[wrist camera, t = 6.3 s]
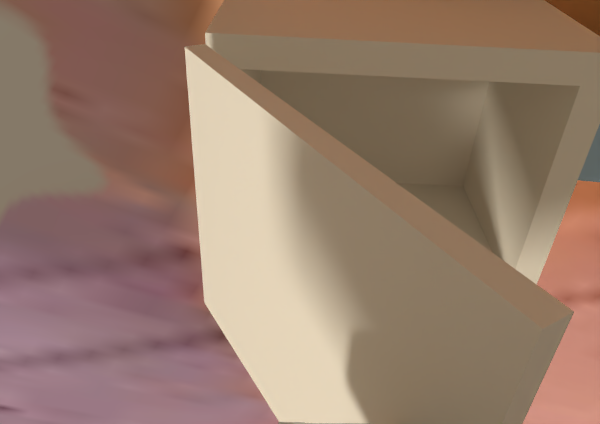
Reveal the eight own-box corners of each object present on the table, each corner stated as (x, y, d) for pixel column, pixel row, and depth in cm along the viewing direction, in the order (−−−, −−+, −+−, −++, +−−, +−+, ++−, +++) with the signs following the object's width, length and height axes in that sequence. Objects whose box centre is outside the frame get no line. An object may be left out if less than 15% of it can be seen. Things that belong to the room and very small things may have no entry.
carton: (531, -9, 22) (627, 54, 15) (475, 197, 27) (527, 308, 21) (237, -24, 22) (205, 32, 15) (242, 186, 27) (219, 294, 21)
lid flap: (575, 312, 7) (542, 329, 6) (432, 617, 12) (412, 633, 12) (205, 44, 15) (184, 46, 15) (219, 297, 20) (204, 302, 20)
